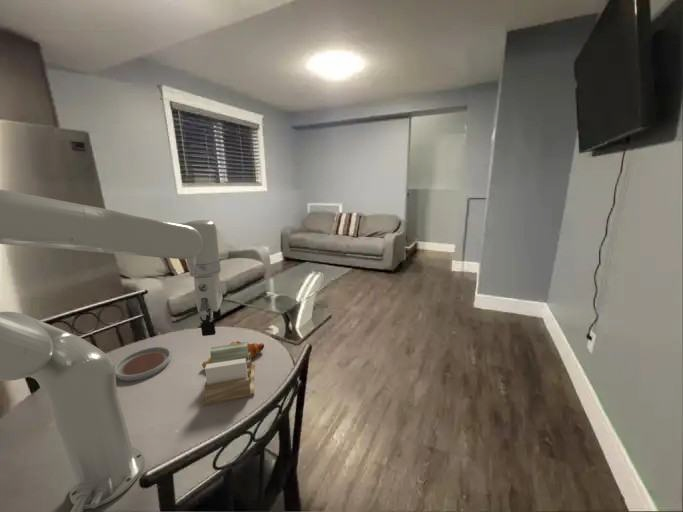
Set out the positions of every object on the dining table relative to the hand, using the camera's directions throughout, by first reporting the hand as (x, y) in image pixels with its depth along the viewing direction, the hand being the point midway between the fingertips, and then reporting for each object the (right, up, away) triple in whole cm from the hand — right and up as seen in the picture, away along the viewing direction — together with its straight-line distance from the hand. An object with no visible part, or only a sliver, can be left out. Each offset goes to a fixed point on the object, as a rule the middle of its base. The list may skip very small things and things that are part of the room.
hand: (212, 326), depth 80 cm
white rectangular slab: (+2, -21, +6) cm, 22 cm away
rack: (+1, -21, +11) cm, 23 cm away
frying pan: (-37, -20, +17) cm, 45 cm away
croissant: (-2, -18, +23) cm, 29 cm away
